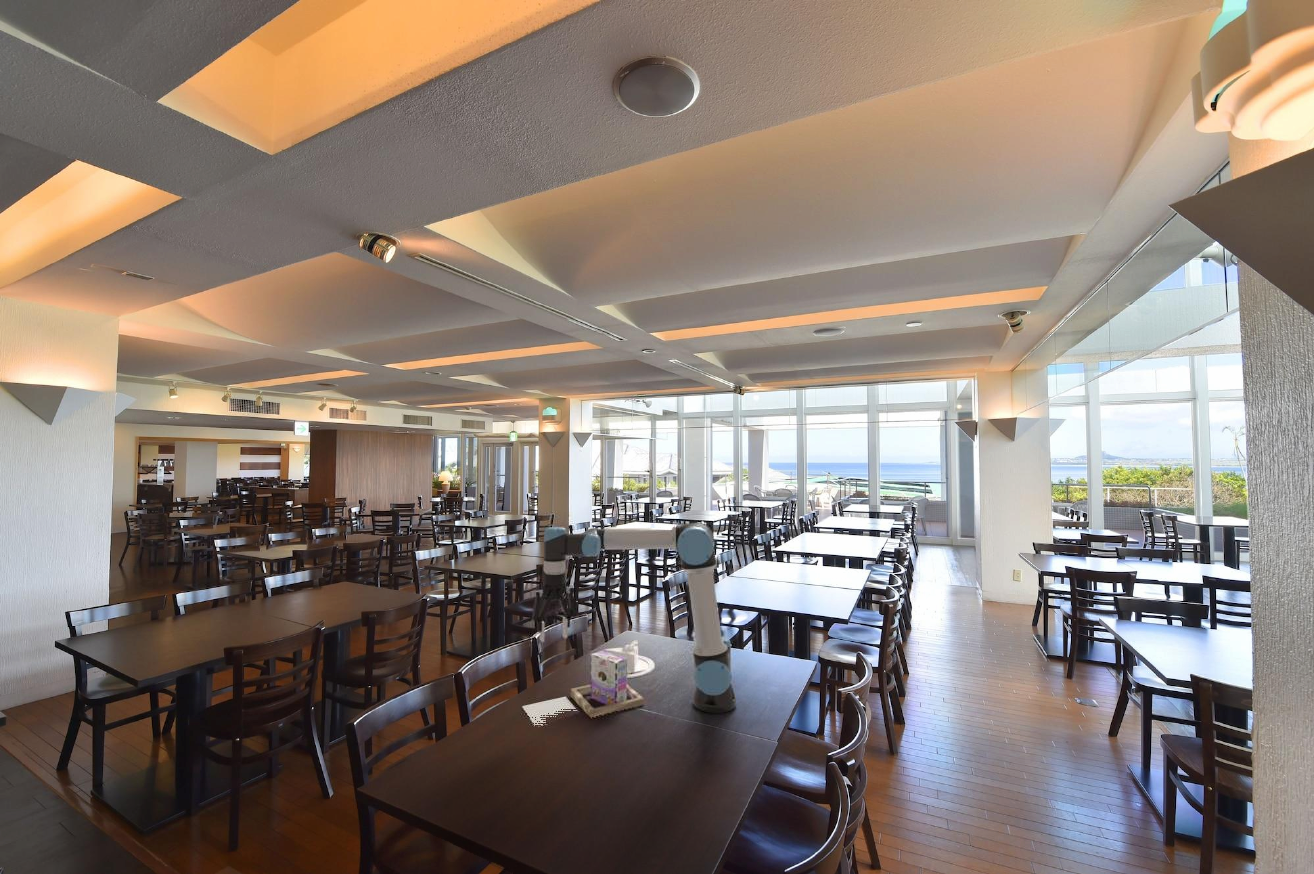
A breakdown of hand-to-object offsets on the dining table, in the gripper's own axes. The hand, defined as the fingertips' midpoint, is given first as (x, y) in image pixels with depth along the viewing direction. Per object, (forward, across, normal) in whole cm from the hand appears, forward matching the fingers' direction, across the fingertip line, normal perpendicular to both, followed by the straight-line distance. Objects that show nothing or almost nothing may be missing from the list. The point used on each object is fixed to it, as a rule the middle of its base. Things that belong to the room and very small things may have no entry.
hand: (553, 638), depth 184 cm
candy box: (+26, -21, 0) cm, 33 cm away
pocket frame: (+26, -20, 0) cm, 33 cm away
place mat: (+26, 0, 0) cm, 26 cm away
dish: (+26, -40, -26) cm, 54 cm away
